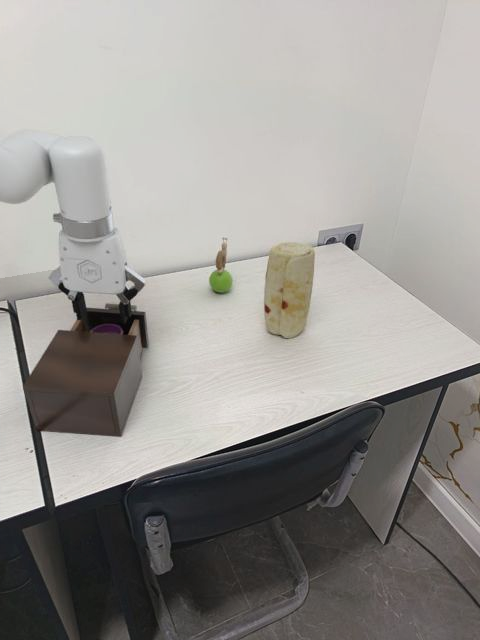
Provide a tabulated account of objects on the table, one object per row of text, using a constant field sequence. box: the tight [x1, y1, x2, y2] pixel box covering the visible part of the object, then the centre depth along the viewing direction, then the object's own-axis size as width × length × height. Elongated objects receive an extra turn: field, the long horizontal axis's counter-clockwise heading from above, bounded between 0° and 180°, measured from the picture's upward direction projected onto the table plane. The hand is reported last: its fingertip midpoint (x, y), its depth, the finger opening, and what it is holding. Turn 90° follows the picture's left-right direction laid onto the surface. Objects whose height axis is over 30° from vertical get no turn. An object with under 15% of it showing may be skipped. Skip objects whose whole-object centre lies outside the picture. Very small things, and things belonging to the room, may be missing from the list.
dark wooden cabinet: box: [22, 329, 143, 438], centre depth 82 cm, size 15×14×10 cm
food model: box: [263, 241, 316, 339], centre depth 99 cm, size 10×7×20 cm
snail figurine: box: [208, 236, 234, 294], centre depth 113 cm, size 5×6×12 cm
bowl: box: [90, 324, 124, 335], centre depth 91 cm, size 6×6×4 cm
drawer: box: [69, 302, 150, 357], centre depth 92 cm, size 19×12×8 cm, turn 178°
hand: (103, 316), depth 88 cm, fingers open, 7 cm apart
